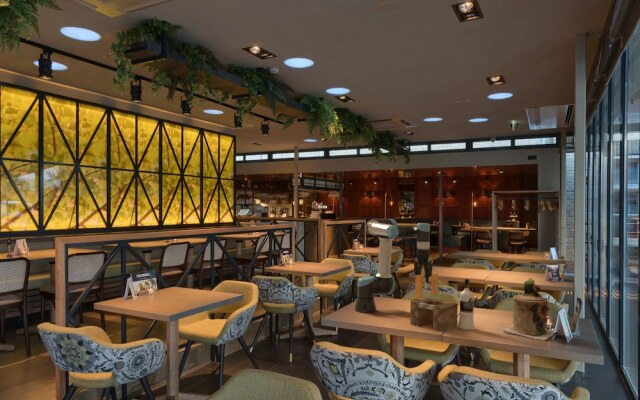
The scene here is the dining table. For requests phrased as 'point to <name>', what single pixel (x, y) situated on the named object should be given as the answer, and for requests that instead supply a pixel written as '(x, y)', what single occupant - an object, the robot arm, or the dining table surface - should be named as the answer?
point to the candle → (414, 300)
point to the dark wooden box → (434, 313)
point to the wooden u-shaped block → (419, 284)
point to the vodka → (466, 308)
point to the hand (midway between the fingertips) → (422, 287)
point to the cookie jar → (530, 313)
